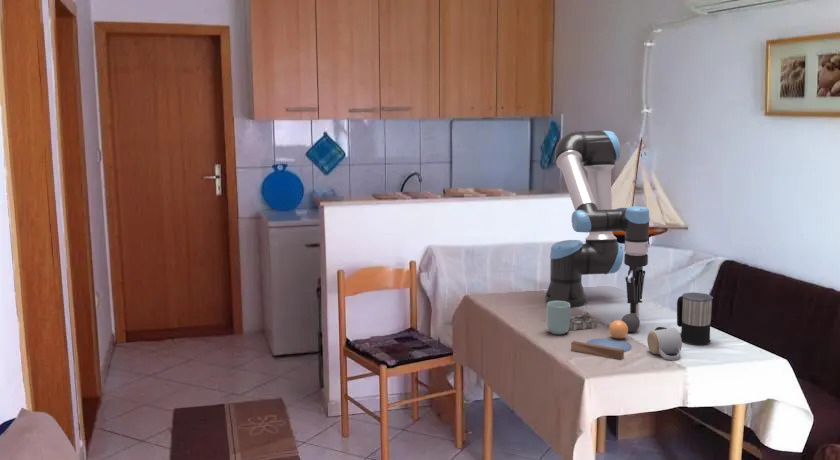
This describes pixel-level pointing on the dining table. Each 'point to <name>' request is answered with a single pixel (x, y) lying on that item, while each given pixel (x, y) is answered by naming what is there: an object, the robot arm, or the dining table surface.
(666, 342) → the ceramic mug
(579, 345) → the wall
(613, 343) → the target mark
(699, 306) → the milk frother
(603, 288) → the dining table surface
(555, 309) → the cup
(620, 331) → the terracotta ball
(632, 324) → the dark gray ball
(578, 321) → the egg carton
